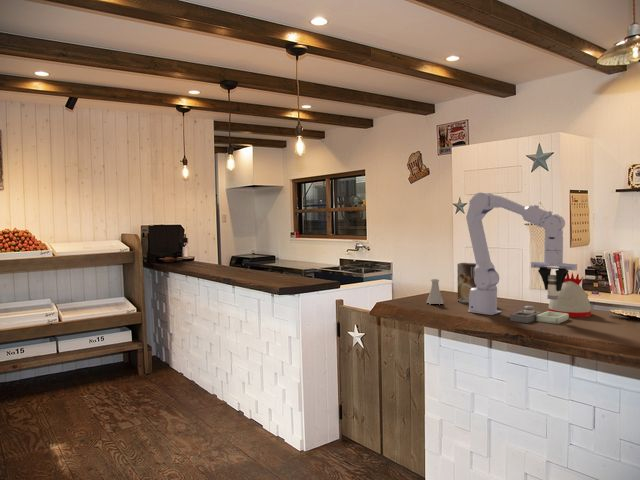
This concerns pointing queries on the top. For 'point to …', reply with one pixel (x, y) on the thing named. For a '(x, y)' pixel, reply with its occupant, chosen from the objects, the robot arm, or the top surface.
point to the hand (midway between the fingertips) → (552, 290)
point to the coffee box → (465, 280)
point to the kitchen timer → (571, 299)
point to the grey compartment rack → (525, 315)
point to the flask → (435, 293)
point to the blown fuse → (552, 287)
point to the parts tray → (552, 317)
